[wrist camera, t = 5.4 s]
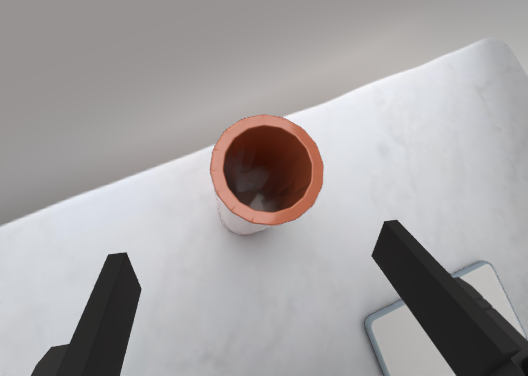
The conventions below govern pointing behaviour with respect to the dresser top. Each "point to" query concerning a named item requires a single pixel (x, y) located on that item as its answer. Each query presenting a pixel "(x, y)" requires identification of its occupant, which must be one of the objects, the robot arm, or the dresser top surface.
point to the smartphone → (415, 338)
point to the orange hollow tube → (264, 173)
